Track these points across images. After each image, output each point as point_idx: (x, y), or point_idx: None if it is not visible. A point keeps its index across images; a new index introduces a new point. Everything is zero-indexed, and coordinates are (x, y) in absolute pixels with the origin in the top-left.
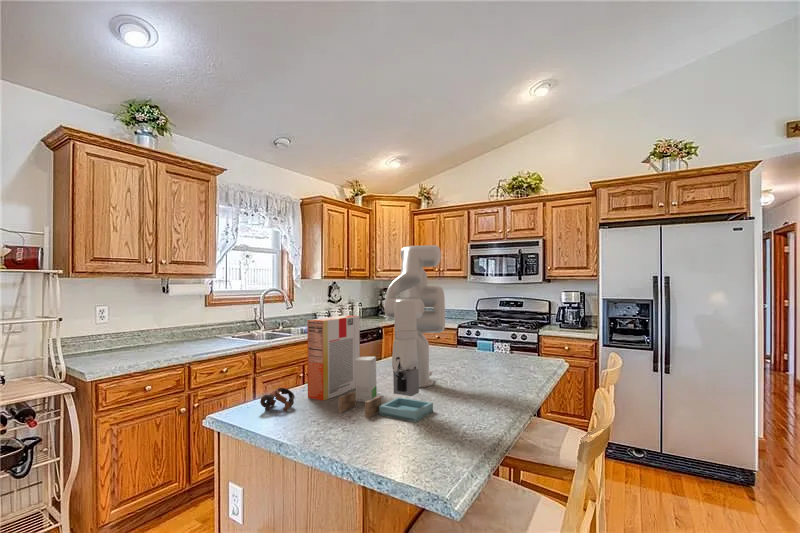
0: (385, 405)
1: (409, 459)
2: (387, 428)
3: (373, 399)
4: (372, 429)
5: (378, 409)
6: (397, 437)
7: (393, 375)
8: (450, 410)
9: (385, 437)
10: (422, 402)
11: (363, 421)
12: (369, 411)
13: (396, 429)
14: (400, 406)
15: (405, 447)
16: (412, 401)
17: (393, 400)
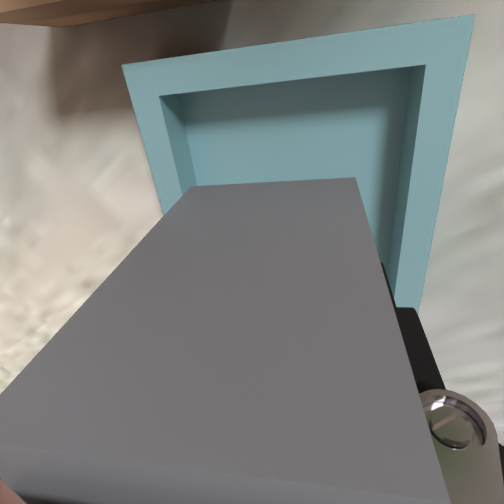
0: (176, 93)
1: (4, 381)
2: (67, 236)
3: None
4: (3, 187)
5: (179, 2)
6: (51, 308)
7: (72, 317)
8: (460, 360)
9: (14, 276)
10: (394, 289)
11: (8, 54)
12: (50, 23)
13: (92, 271)
14: (350, 118)
15: (31, 353)
16: (404, 210)
17: (327, 62)
